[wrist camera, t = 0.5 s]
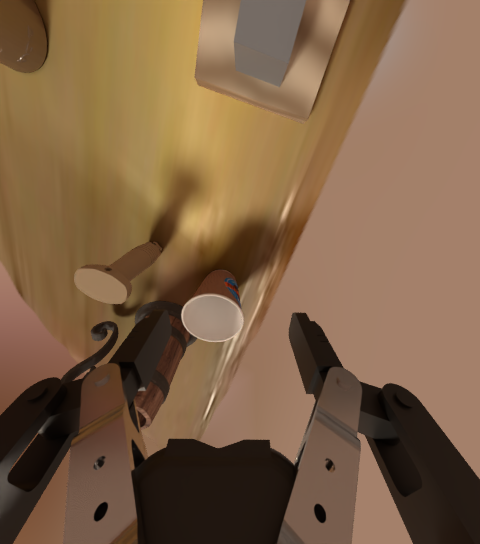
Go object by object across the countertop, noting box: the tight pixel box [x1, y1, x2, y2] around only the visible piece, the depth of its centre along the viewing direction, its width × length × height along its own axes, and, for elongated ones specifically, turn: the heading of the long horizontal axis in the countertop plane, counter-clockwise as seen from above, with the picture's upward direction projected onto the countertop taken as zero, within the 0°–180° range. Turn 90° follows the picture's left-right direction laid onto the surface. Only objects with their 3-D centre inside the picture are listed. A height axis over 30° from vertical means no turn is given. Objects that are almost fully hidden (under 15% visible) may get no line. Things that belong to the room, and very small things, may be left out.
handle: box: [74, 242, 162, 304], centre depth 29 cm, size 5×6×15 cm
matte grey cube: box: [234, 0, 306, 87], centre depth 19 cm, size 7×6×5 cm
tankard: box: [61, 301, 197, 430], centre depth 36 cm, size 24×17×20 cm
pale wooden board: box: [195, 0, 350, 124], centre depth 21 cm, size 14×16×2 cm
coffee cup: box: [181, 270, 244, 342], centre depth 34 cm, size 10×10×12 cm
